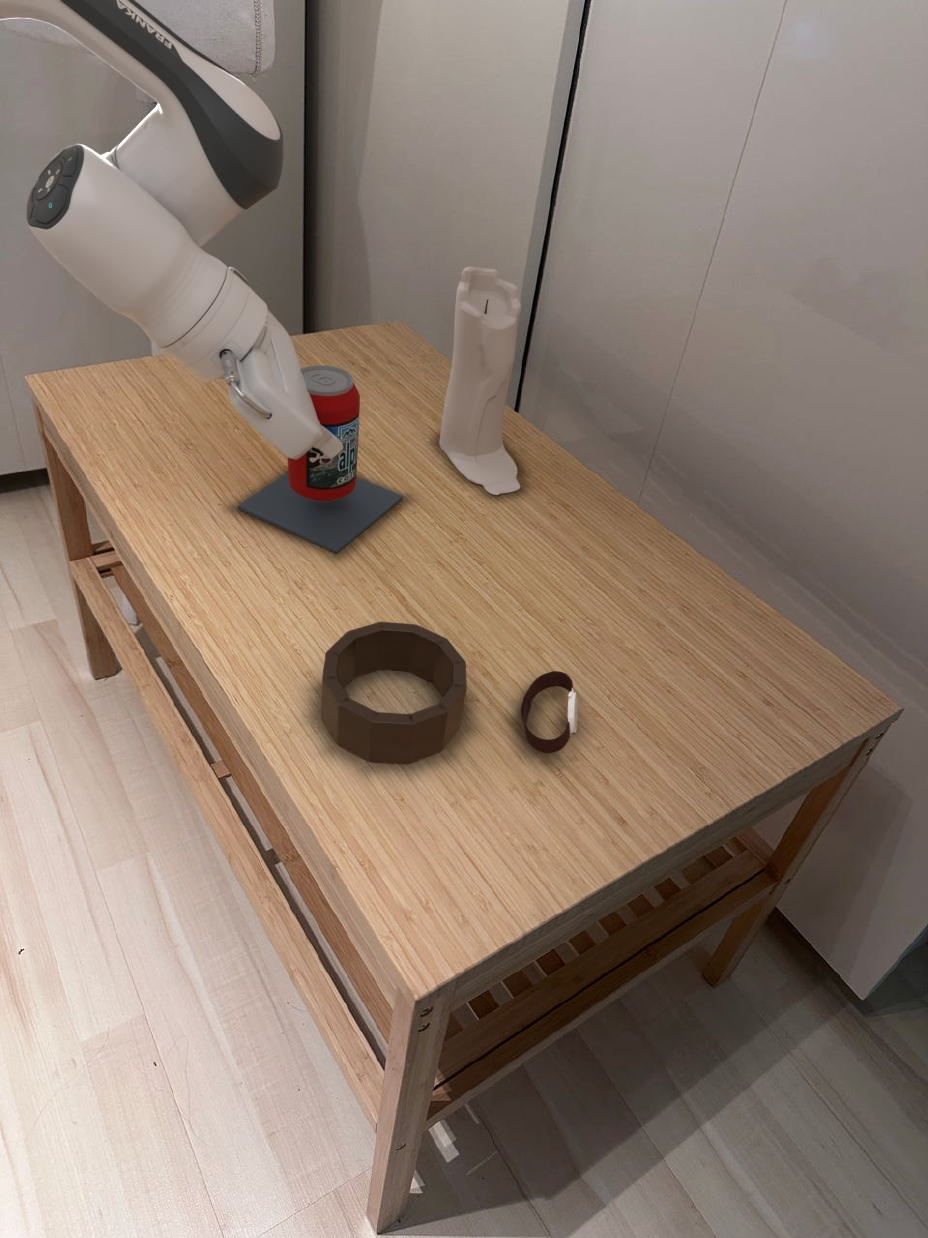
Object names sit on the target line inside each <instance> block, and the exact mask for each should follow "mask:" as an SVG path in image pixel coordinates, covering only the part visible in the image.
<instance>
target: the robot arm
mask: <svg viewBox="0 0 928 1238" xmlns="http://www.w3.org/2000/svg"><path fill="white" fill-rule="evenodd" d="M10 19H27V20H35V21H40V22H43V23H46V24H49V25H51V26H53V27H56V28H57V29H59V30H61V31H63V32H64V33H65V34H67V35H69V36H70V37H71V38H73V39H74V40H76V41H77V42H78V43H79V44H80V45H82V46H83V47H85V48H86V49H87V50H89V51H90V52H91V53H93V54H94V55H95V56H96V57H98V58H99V59H101V60H102V61H103V62H104V63H106V64H107V65H109V67H111V68H112V69H113V70H115V71H117V73H119V74H120V75H122V76H123V77H124V78H126V79H127V80H128V81H129V82H131V83H132V84H134V85H135V86H136V87H137V88H139V89H140V90H141V91H143V92H144V93H145V94H147V95H148V96H149V97H150V98H152V99H153V100H154V101H155V102H157V104H156V106H155V107H154V108H153V109H152V110H151V111H150V112H149V113H148V114H147V116H145V117H144V118H143V119H142V120H141V121H140V122H139V124H138V125H137V126H136V127H135V128H134V129H132V131H131V132H130V133H129V134H128V135H127V136H126V137H125V138H124V139H123V140H122V141H121V142H120V143H118V144H117V145H115V147H114V148H112V149H111V151H106V152H104V153H103V154H99V153H98V152H96V151H94V149H92V148H90V147H88V146H87V145H84V144H81V143H75V144H71V145H68V146H66V147H65V148H63V149H61V150H59V151H58V152H57V153H56V154H55V155H54V156H53V157H52V158H51V159H50V160H49V161H48V163H47V164H46V165H45V167H44V168H43V169H42V170H41V172H40V173H39V175H38V177H37V180H36V182H35V183H34V185H33V187H32V188H31V190H30V192H29V195H28V199H27V201H26V202H27V203H26V223H27V226H28V228H29V229H30V231H31V233H32V234H33V235H34V237H35V239H37V241H38V242H39V243H40V244H41V246H43V248H45V250H46V251H47V252H48V253H49V255H51V256H52V257H53V258H54V259H55V260H56V262H58V264H60V265H61V266H62V267H63V268H64V269H65V270H66V271H67V272H68V273H69V274H70V275H71V276H72V277H73V278H74V279H75V280H76V281H77V282H78V283H80V285H82V286H83V287H84V288H85V289H87V290H88V291H89V292H90V293H91V294H92V295H94V296H95V298H97V299H99V301H101V303H103V304H104V305H106V306H107V307H108V308H109V309H110V310H113V312H115V313H117V314H120V315H122V316H124V317H126V318H129V319H130V320H132V322H134V323H135V324H136V325H138V326H139V327H140V328H141V329H142V330H143V332H144V333H145V334H146V335H147V337H148V339H149V340H150V341H151V342H152V343H153V344H154V345H155V346H156V347H157V348H158V349H160V350H161V351H162V352H164V353H165V355H167V356H168V357H170V358H171V359H172V360H174V361H175V362H176V363H177V364H178V365H180V366H181V367H182V368H183V369H184V370H186V371H187V372H188V373H189V374H191V375H192V376H193V377H194V378H196V379H197V380H198V381H199V382H201V383H204V384H205V383H212V382H214V381H217V380H221V382H223V383H224V384H226V388H227V391H228V397H229V400H230V403H231V405H232V407H233V408H234V409H235V411H236V412H237V413H238V414H239V415H240V417H241V418H242V419H244V421H246V423H248V425H250V427H252V429H254V431H256V432H257V433H258V434H259V435H260V436H262V437H263V439H265V440H266V441H267V442H268V443H269V444H270V445H272V446H273V447H274V448H275V449H276V450H277V451H278V452H280V453H281V454H282V455H283V456H285V457H286V458H287V459H288V458H291V459H299V458H300V457H302V456H303V455H304V454H305V453H307V452H308V451H309V450H310V449H311V448H312V447H314V448H317V449H319V450H321V451H322V452H323V453H324V454H325V455H327V456H328V457H330V458H332V457H335V456H336V455H337V454H338V453H339V452H340V451H341V450H342V449H343V444H342V441H341V439H340V437H339V436H338V435H337V434H335V432H334V431H332V430H331V429H330V428H329V429H328V430H327V429H326V428H325V427H323V426H322V425H320V422H319V420H318V418H317V415H316V411H315V408H314V405H313V402H312V399H311V396H310V393H309V392H308V390H307V389H306V387H307V386H306V384H305V381H304V377H303V373H302V372H301V371H300V369H302V368H303V367H302V366H301V363H300V360H299V356H298V354H297V351H296V347H295V344H294V341H293V339H292V337H291V335H290V333H288V331H287V330H286V328H285V327H284V326H283V325H282V323H281V322H280V321H279V320H278V319H277V318H276V317H275V316H274V314H273V313H272V312H271V311H270V310H269V309H268V305H267V303H266V302H265V301H264V300H263V299H262V298H261V297H260V296H259V295H258V294H257V293H256V292H255V291H254V290H253V289H252V288H251V286H250V284H249V282H248V279H247V278H246V277H245V276H244V275H243V274H242V273H241V272H239V270H238V269H236V268H235V267H234V266H229V267H228V266H227V265H226V264H225V263H224V262H223V261H222V260H220V259H219V258H217V257H216V256H213V255H211V254H210V253H208V252H206V251H205V250H204V249H202V248H201V247H202V246H204V245H206V244H208V243H209V242H210V241H211V240H212V239H214V237H216V236H217V235H218V234H219V233H220V232H221V231H222V230H224V228H226V227H227V226H228V225H229V224H230V223H231V222H232V221H233V220H234V219H235V218H236V217H238V216H239V215H241V214H242V213H243V211H244V210H248V209H250V208H251V207H252V206H254V205H255V204H256V203H258V202H260V201H262V199H264V198H265V197H267V196H268V195H269V194H271V193H272V192H274V191H276V190H277V188H278V187H279V184H280V181H281V177H282V171H283V165H284V148H285V147H284V135H283V134H284V133H283V130H282V128H281V126H280V124H279V122H278V119H277V118H276V117H275V115H274V114H273V112H272V111H271V110H270V109H269V107H268V105H267V104H266V103H265V102H264V100H263V99H262V98H261V97H260V96H259V95H258V94H257V93H256V92H255V91H254V90H253V89H251V87H250V86H248V84H246V83H245V82H243V80H241V79H240V77H237V76H236V75H235V74H233V73H232V72H230V71H229V70H228V69H226V68H225V67H223V66H222V65H220V64H219V63H217V62H216V61H214V60H213V59H211V58H209V56H206V55H205V54H204V53H202V52H200V51H199V50H198V49H196V48H195V47H193V46H192V45H191V44H189V43H188V42H187V41H186V40H185V39H183V38H182V37H181V36H180V35H178V34H177V33H176V32H175V31H173V29H171V28H170V27H168V26H167V24H165V23H164V22H163V21H161V20H160V19H159V18H158V17H157V16H155V15H154V14H152V12H150V11H149V10H148V9H147V8H145V7H144V6H143V5H142V4H141V3H139V2H138V1H137V0H0V21H4V20H10Z"/></svg>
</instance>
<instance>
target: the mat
mask: <svg viewBox="0 0 928 1238" xmlns="http://www.w3.org/2000/svg"><path fill="white" fill-rule="evenodd" d="M403 499H404V496H403V495H401V494H399V493H396V492H395V491H392V490H389V489H387V488H384V487H382V486H380V485H377V484H375V483H373V482H370V481H367V480H366V479H363V478H361V477H358V476H356V485H355V488H354V490H353V491H352V492H351V493H350V494H348V495H347V496H345V497H342V498H340V499H337V500H334V501H328V502H319V501H313V500H310V499H308V498H305V497H303V496H301V495H299V494H297V493H296V492H295V491H294V490H293V489H292V488H291V487H290V485H289V481H288V471H287V472H285V473H284V474H283V475H281V476H280V477H278V478H277V479H275V480H274V481H272V482H270V483H269V484H267V485H266V486H265V487H263V488H262V489H260V490H259V491H257V492H255V493H254V494H252V496H249V497H248V498H247V499H246V500H244V501H242V502H241V503H240V504H238V505H237V506H236V507H237V510H239V511H241V512H243V513H246V514H247V515H250V516H252V517H254V518H257V519H258V520H261V521H263V522H265V523H267V524H269V525H272V526H274V527H276V528H279V529H281V530H284V532H288V533H289V534H292V535H294V536H296V537H298V538H301V539H303V540H305V541H307V542H310V543H312V544H314V545H317V546H319V547H321V548H323V549H324V550H328V551H330V552H332V553H334V554H337V555H338V554H339V553H341V551H342V550H344V549H345V548H346V547H347V546H348V545H350V544H351V543H352V542H353V541H355V539H357V538H358V537H359V536H360V535H362V534H363V533H364V532H366V530H368V529H369V528H370V527H371V526H372V525H374V524H375V523H376V522H377V521H379V520H380V519H381V518H382V517H383V516H384V515H386V514H387V513H388V512H389V511H390V510H392V508H394V507H395V506H397V505H398V504H399V503H400V502H401V501H403Z"/></svg>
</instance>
